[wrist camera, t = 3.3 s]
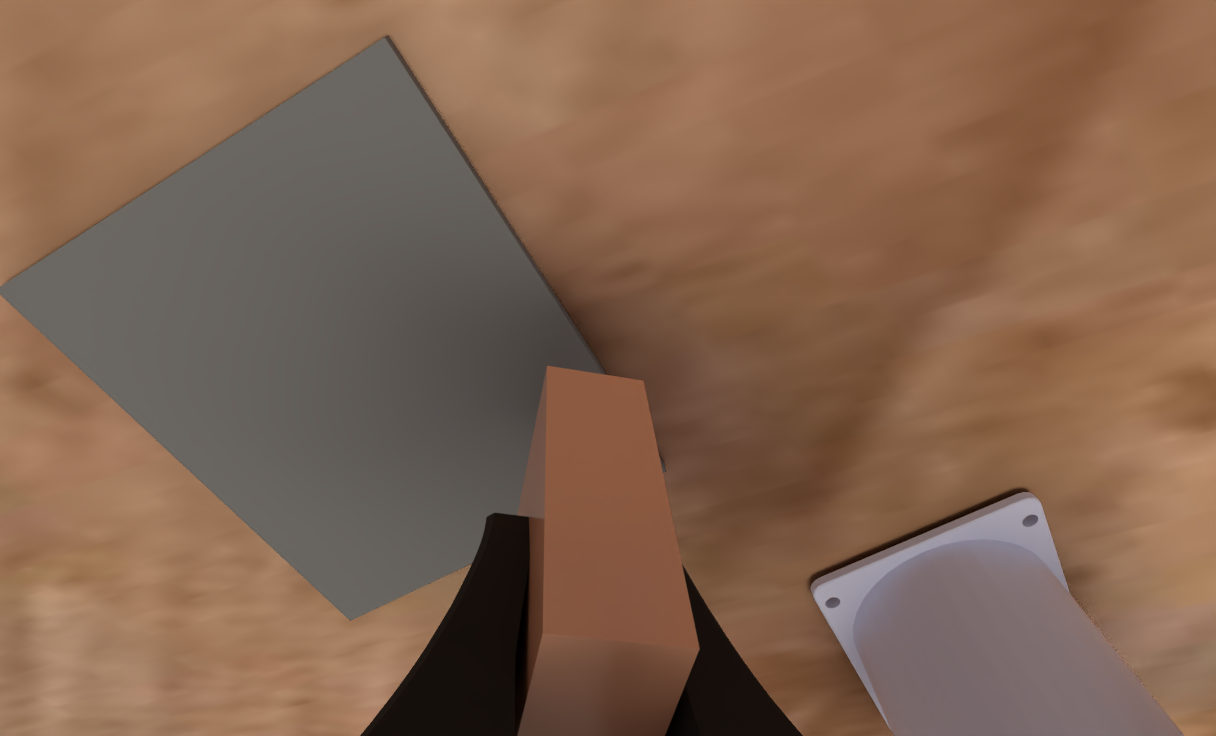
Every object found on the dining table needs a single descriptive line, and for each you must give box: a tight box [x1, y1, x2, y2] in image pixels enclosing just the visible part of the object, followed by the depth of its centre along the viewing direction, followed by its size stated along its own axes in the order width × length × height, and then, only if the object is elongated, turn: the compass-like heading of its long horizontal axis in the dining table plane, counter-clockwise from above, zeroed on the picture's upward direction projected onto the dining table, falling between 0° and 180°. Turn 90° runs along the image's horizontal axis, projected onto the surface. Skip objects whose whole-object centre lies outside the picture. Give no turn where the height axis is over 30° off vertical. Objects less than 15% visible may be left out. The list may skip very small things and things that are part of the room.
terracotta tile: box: [514, 366, 700, 736], centre depth 12 cm, size 6×2×6 cm, turn 168°
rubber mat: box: [0, 36, 666, 621], centre depth 21 cm, size 14×12×1 cm
